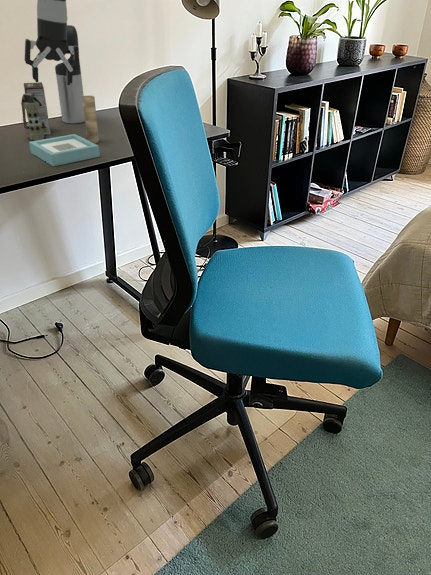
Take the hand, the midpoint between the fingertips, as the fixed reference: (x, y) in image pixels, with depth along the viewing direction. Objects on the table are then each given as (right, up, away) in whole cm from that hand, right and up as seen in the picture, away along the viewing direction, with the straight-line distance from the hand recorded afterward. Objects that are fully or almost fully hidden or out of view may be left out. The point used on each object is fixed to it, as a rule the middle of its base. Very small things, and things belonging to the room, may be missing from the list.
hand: (52, 83), depth 133 cm
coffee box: (-18, -1, +39) cm, 43 cm away
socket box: (-2, -15, +19) cm, 24 cm away
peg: (+3, -7, +31) cm, 32 cm away
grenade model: (-17, -6, +32) cm, 37 cm away
